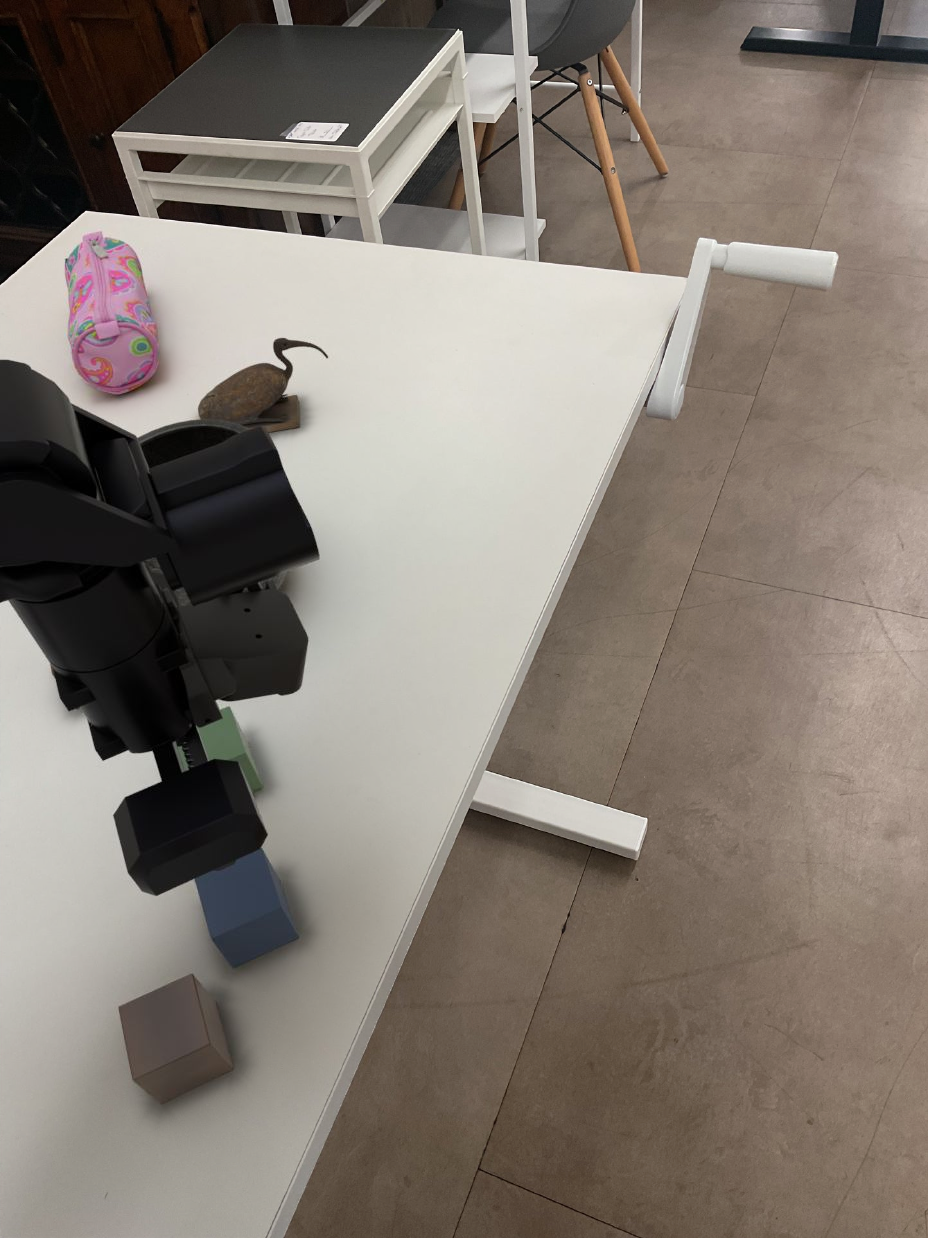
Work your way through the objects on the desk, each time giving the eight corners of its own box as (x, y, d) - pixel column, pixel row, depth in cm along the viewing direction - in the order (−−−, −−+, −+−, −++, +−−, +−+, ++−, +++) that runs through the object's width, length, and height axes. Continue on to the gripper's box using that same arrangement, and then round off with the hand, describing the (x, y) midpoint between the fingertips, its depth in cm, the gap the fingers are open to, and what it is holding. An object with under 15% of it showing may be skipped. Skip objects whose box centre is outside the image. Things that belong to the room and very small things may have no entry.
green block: (203, 813, 71) (182, 779, 68) (189, 765, 74) (168, 730, 71) (263, 787, 72) (245, 752, 69) (247, 740, 75) (229, 705, 72)
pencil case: (80, 308, 119) (47, 236, 113) (155, 288, 120) (127, 216, 114) (88, 410, 105) (51, 335, 99) (174, 386, 106) (143, 311, 100)
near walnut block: (160, 1104, 59) (132, 1081, 55) (145, 1033, 61) (117, 1006, 58) (234, 1069, 59) (210, 1044, 56) (215, 1000, 62) (192, 972, 59)
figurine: (340, 393, 102) (321, 318, 96) (342, 420, 99) (322, 345, 93) (204, 417, 102) (175, 343, 96) (202, 444, 99) (172, 371, 93)
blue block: (232, 968, 63) (210, 939, 60) (215, 908, 66) (193, 877, 63) (299, 938, 64) (281, 907, 61) (279, 879, 67) (261, 847, 64)
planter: (343, 564, 86) (307, 446, 76) (235, 679, 79) (181, 565, 69) (224, 514, 92) (177, 399, 82) (114, 617, 85) (49, 504, 75)
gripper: (334, 697, 42) (393, 871, 54) (216, 452, 54) (286, 638, 66) (72, 808, 40) (194, 965, 52) (9, 527, 52) (120, 707, 63)
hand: (205, 800), depth 58 cm, fingers open, 9 cm apart
